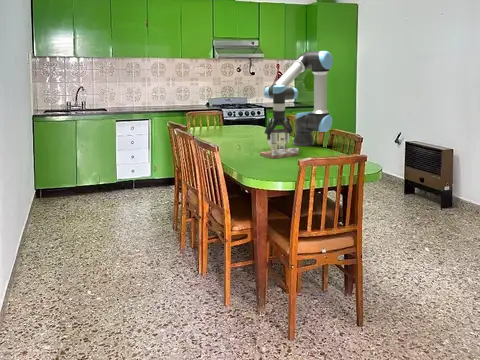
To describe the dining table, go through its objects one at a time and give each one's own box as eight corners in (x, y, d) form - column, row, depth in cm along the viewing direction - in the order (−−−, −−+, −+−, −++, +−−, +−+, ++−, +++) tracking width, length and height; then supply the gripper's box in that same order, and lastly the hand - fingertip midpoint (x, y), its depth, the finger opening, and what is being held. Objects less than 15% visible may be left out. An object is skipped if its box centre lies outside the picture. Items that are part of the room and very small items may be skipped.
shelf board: (285, 152, 330) (285, 144, 329) (298, 155, 318) (299, 147, 317) (260, 155, 320) (260, 147, 318) (273, 158, 308) (273, 150, 307)
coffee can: (276, 150, 326) (276, 128, 323) (289, 151, 320) (290, 129, 317) (266, 152, 318) (267, 130, 315) (280, 154, 312) (280, 131, 309)
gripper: (291, 108, 323) (290, 141, 328) (258, 111, 310) (258, 145, 315) (298, 109, 316) (298, 143, 321) (265, 111, 304) (265, 146, 309)
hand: (278, 144), depth 318 cm, fingers open, 13 cm apart
